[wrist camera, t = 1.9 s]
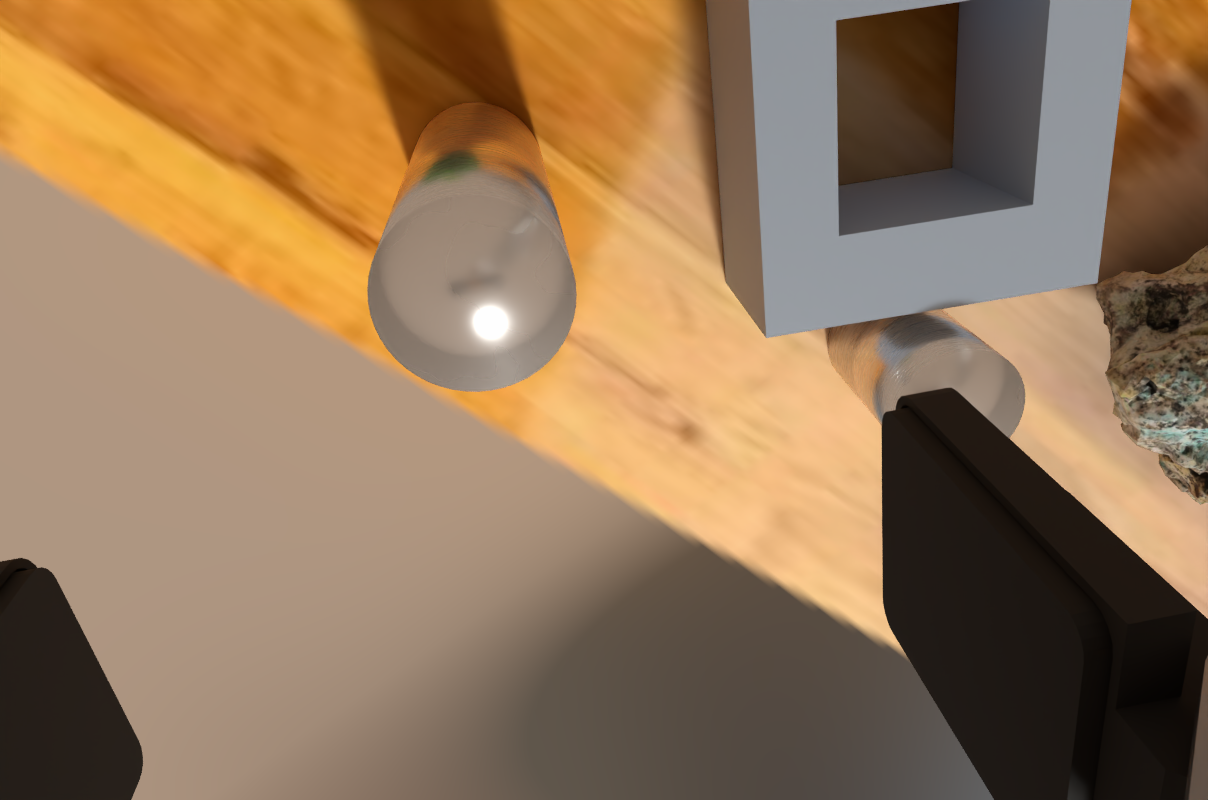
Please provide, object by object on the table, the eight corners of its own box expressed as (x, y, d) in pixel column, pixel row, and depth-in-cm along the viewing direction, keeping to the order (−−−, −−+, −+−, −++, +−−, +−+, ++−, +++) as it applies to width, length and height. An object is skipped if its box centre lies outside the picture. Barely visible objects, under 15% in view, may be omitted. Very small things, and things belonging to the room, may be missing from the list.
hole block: (699, -82, 26) (743, -89, 22) (1037, -130, 27) (1149, -147, 22) (725, 282, 31) (766, 337, 27) (1010, 236, 32) (1097, 283, 27)
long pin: (399, 112, 28) (344, 213, 17) (531, 92, 28) (560, 179, 17) (428, 241, 29) (394, 406, 19) (552, 221, 29) (589, 374, 19)
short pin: (826, 293, 32) (896, 362, 26) (938, 275, 32) (1030, 339, 27) (828, 396, 33) (894, 480, 28) (934, 378, 34) (1019, 458, 28)
